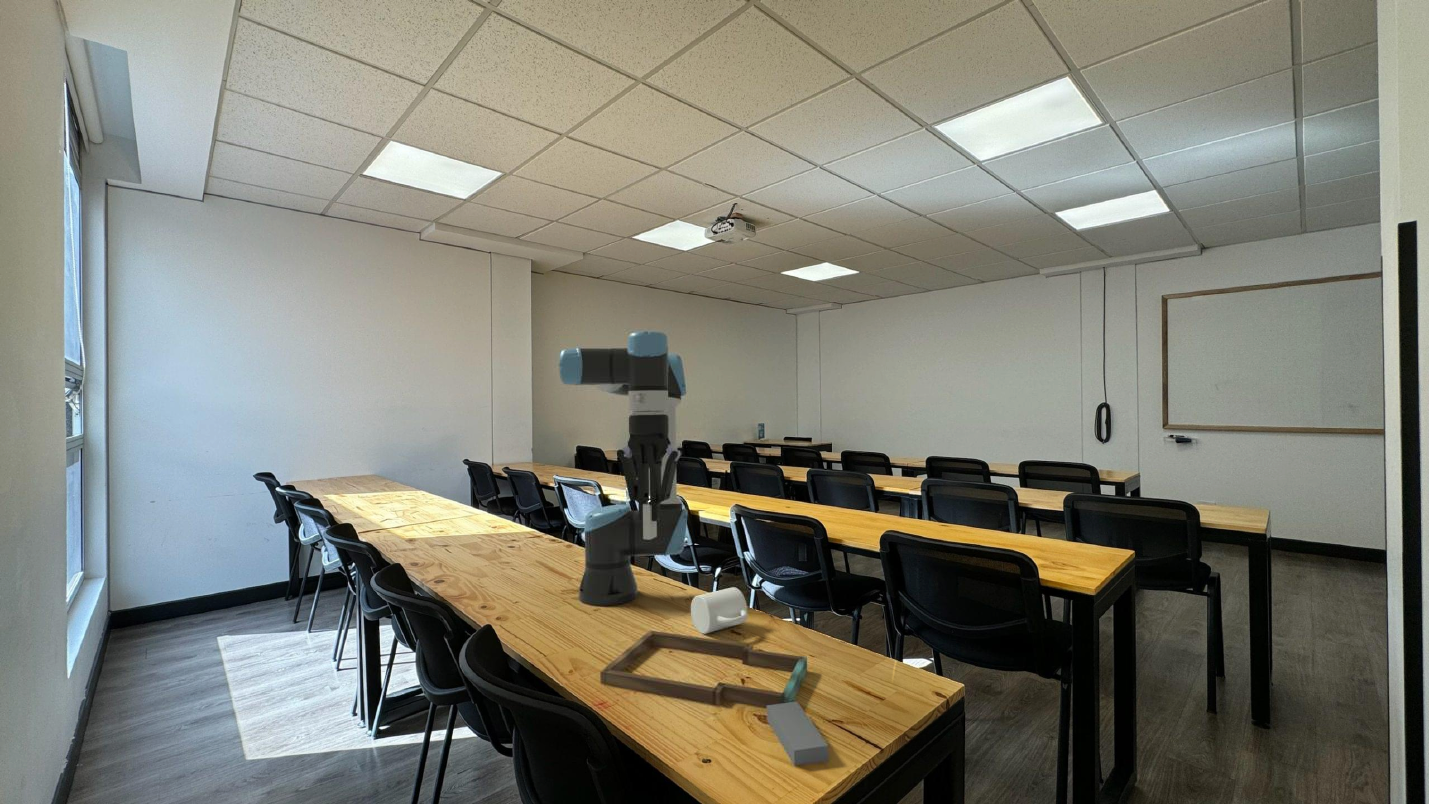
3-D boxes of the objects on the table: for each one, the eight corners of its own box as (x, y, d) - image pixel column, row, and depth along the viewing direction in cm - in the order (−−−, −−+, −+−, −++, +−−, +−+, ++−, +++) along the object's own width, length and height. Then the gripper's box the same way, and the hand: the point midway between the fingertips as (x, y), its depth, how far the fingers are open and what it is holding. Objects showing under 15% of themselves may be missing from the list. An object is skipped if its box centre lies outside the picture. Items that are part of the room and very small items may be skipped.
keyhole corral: (649, 642, 120) (649, 630, 120) (809, 666, 108) (809, 652, 108) (600, 685, 102) (600, 671, 102) (785, 719, 90) (785, 703, 90)
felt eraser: (828, 767, 79) (828, 745, 79) (794, 772, 78) (794, 750, 78) (797, 720, 91) (797, 701, 91) (766, 724, 89) (766, 705, 89)
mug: (690, 627, 128) (690, 591, 128) (726, 617, 134) (726, 583, 134) (721, 645, 118) (720, 607, 118) (759, 634, 124) (758, 597, 124)
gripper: (608, 414, 108) (609, 539, 108) (671, 413, 103) (673, 545, 103) (627, 413, 115) (629, 531, 115) (687, 412, 110) (689, 535, 110)
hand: (650, 537), depth 109 cm, fingers closed
